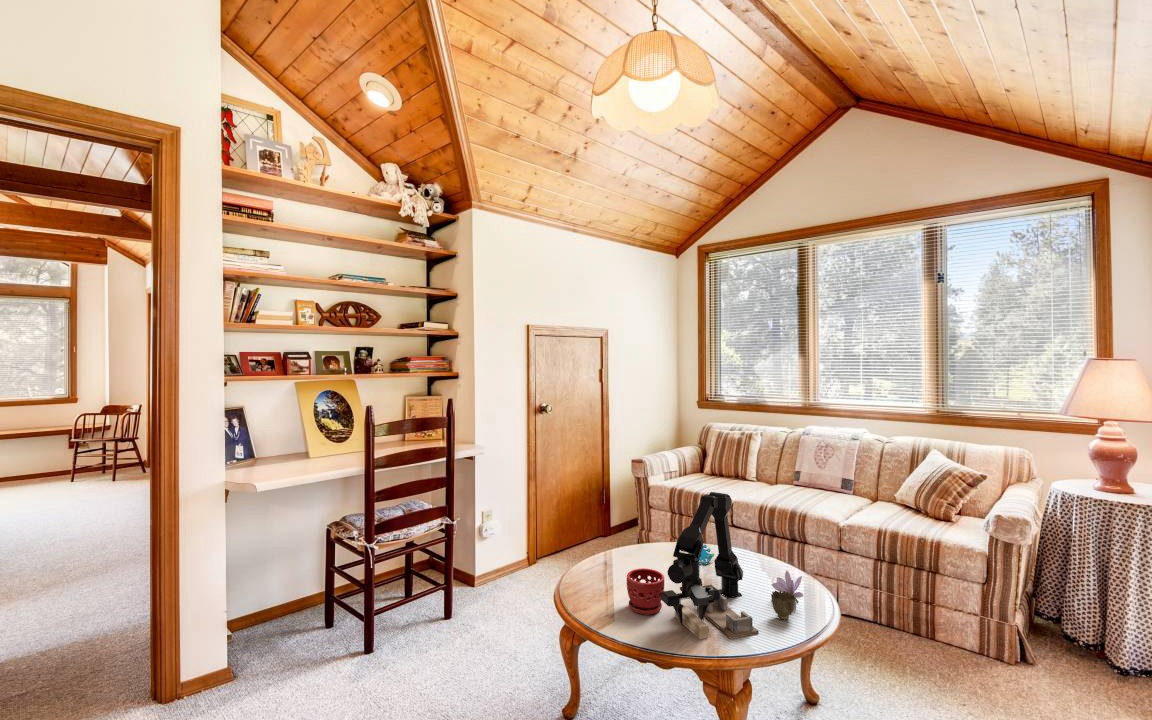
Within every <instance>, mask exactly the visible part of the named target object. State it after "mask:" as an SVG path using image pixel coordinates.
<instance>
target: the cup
mask: <svg viewBox="0 0 1152 720" xmlns="http://www.w3.org/2000/svg"><path fill="white" fill-rule="evenodd" d="M770 597H771V600H772V603H771V605H772V609H773V611H774V613H776V614H777V619H779V620H780V621H788V620H789V619H790V615H792V614H793V613H794V612H793V609H794V601H795V596H794V594H793V595H792V594H791V593H790V594H789V593H788V592H785V591H784V592H783V593H782V592H781V591H777V590H774V591H772V592H771V593H770Z"/></svg>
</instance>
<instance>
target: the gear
mask: <svg viewBox="0 0 1152 720" xmlns="http://www.w3.org/2000/svg"><path fill="white" fill-rule="evenodd" d="M707 547H708V546H707V544H703V549H702V552H701V557H700V558H699V566H702V561H703V565H707V564H708V563H710V562H711V560H712V559H713V558H714V557H715V553H714V552H713V553H711V548H707ZM706 560H707V561H706Z"/></svg>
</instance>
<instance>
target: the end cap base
mask: <svg viewBox="0 0 1152 720" xmlns="http://www.w3.org/2000/svg"><path fill="white" fill-rule="evenodd" d="M727 603H728V600H727V597H725V596H724V595H722V594H721V593H720V600H714V602H713V603H711V604H709V605H708V607H707V609H706V612H705V615H704V617H705V618H707V619H708V620H709V621H710V622H711V623H712V624H713V625H714V626H716V627H717V628H718V629H719V630H720V631H721V632H723V633H724V635H726V636H727V637H729V639H735V638H742V637H747V636H753V635H759V634H760V633H759V630H758V629H757V628H756V627H754V626H753V617H752V616H751V615H750V614H748V613H747V612H745V611H744V610H743V611H740V615H739V614H737V612H735V611H734V610H732V609H731V608H730V607H728V604H727ZM696 607H697V611H698V612H699V608H698V606H696Z"/></svg>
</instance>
